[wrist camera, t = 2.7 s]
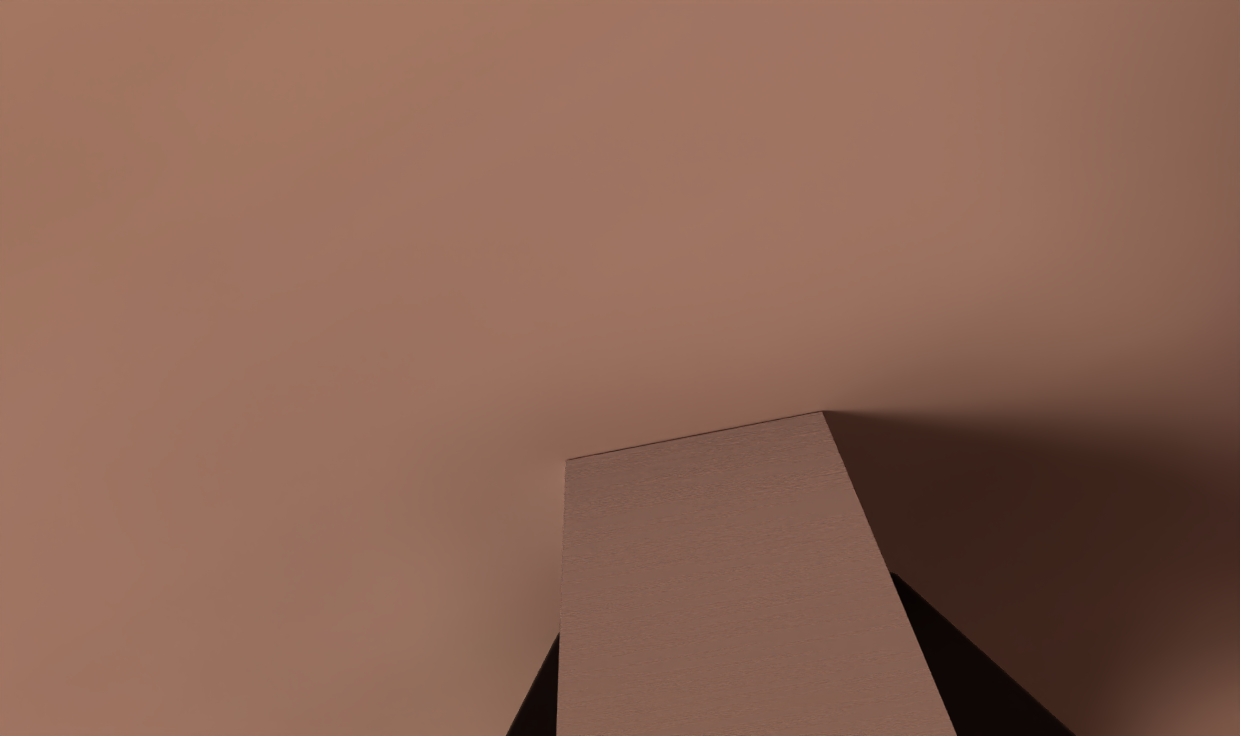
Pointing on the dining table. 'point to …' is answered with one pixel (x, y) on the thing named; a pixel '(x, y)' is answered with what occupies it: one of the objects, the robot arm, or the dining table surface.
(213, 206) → the dining table surface
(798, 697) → the bracket
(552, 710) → the robot arm
